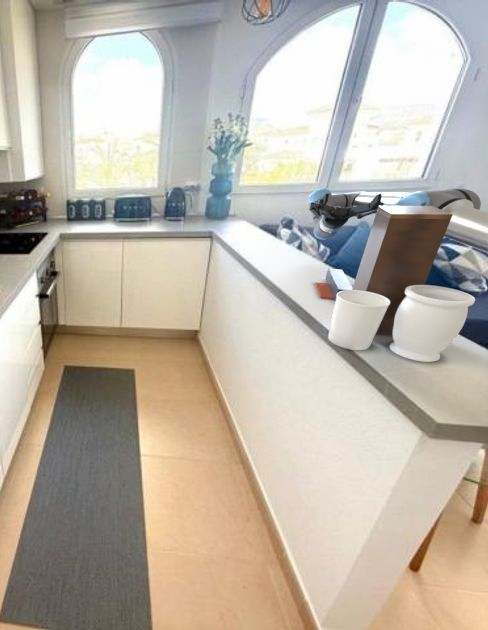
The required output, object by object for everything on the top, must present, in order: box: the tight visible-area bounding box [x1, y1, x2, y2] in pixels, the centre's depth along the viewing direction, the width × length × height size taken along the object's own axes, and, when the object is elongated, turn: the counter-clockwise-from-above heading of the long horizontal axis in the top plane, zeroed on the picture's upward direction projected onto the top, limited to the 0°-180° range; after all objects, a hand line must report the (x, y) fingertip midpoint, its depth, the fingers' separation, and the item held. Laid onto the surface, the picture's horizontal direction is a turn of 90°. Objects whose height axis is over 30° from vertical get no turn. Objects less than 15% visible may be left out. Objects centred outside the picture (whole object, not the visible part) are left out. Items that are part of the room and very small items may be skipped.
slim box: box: [324, 268, 353, 302], centre depth 111 cm, size 4×20×4 cm, turn 153°
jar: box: [389, 284, 476, 363], centre depth 76 cm, size 11×10×15 cm
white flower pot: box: [327, 290, 390, 351], centre depth 83 cm, size 10×10×12 cm
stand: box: [352, 206, 453, 337], centre depth 85 cm, size 10×11×30 cm
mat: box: [315, 282, 334, 300], centre depth 111 cm, size 10×13×1 cm
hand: (352, 197), depth 110 cm, fingers open, 13 cm apart
